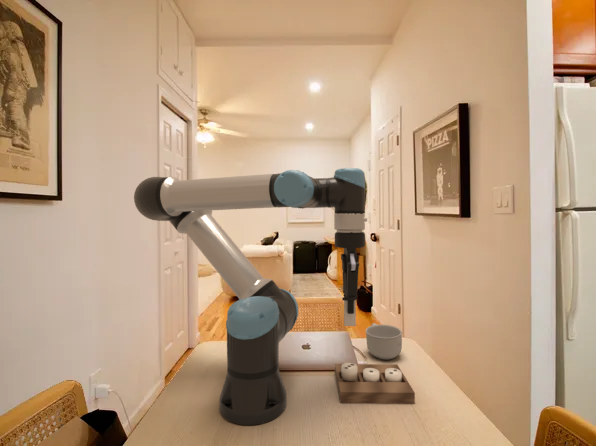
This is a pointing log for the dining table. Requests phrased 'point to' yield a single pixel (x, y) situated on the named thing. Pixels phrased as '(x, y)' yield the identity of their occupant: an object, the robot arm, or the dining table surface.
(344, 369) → the button three
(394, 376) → the button two
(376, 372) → the button one
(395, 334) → the teacup
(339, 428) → the dining table surface
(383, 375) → the panel
